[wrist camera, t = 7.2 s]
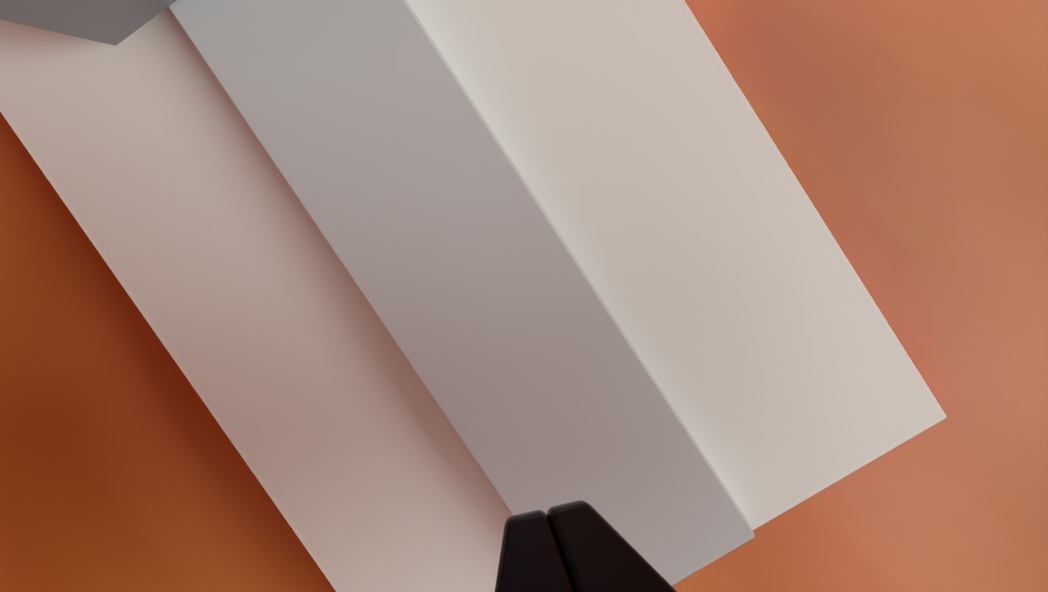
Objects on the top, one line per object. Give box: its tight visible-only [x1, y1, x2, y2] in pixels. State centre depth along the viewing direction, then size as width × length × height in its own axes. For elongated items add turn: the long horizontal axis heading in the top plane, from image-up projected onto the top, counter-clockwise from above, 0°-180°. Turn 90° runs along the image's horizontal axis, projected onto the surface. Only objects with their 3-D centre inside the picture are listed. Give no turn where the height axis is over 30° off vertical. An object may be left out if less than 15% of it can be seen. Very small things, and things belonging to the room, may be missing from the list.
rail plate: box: [0, 0, 947, 592], centre depth 18 cm, size 20×12×3 cm, turn 34°
